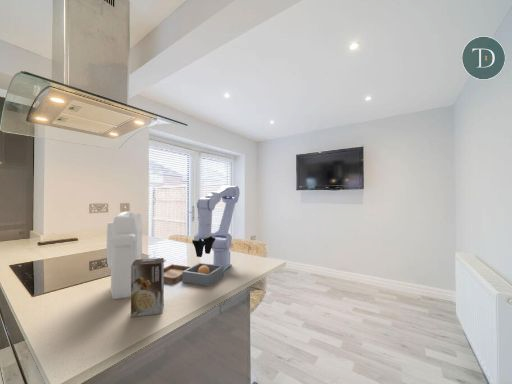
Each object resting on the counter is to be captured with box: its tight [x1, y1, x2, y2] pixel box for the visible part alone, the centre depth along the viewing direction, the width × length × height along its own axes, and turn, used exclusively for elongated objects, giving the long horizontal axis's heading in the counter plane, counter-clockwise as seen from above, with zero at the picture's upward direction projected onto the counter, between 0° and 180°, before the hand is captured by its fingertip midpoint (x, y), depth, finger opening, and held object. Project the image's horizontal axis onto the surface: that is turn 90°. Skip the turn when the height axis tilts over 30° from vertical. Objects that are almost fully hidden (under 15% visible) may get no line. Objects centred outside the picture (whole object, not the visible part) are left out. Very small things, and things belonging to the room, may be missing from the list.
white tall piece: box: [106, 211, 143, 300], centre depth 90 cm, size 27×11×30 cm, turn 21°
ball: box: [198, 265, 209, 274], centre depth 101 cm, size 5×5×5 cm
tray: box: [164, 264, 191, 285], centre depth 104 cm, size 15×13×2 cm
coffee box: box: [130, 257, 165, 318], centre depth 73 cm, size 9×6×16 cm
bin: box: [181, 262, 224, 287], centre depth 101 cm, size 13×13×4 cm
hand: (203, 255), depth 101 cm, fingers open, 7 cm apart
